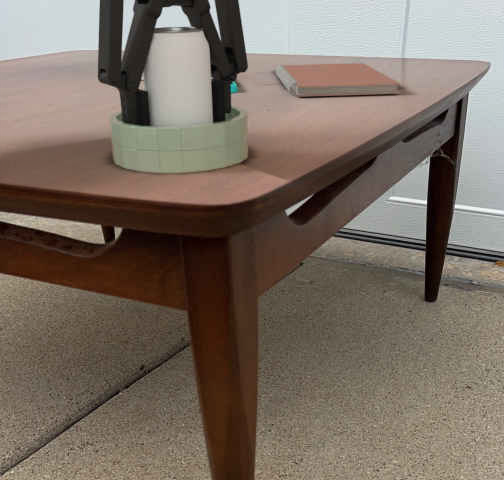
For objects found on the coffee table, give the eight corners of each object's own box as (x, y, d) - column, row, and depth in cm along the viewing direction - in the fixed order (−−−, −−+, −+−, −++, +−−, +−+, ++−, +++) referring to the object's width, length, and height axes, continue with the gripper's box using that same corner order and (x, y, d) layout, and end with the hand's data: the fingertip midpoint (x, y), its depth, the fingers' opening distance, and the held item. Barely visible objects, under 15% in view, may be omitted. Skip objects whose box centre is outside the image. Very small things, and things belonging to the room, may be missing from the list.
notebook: (274, 75, 130) (274, 64, 129) (362, 72, 131) (362, 61, 130) (290, 98, 105) (290, 84, 104) (399, 95, 106) (400, 81, 105)
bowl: (151, 190, 61) (147, 134, 59) (93, 161, 71) (88, 112, 69) (274, 167, 68) (273, 115, 66) (205, 143, 78) (203, 98, 76)
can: (192, 146, 73) (185, 25, 68) (226, 157, 69) (222, 28, 64) (138, 155, 70) (126, 29, 65) (170, 168, 65) (161, 32, 60)
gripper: (65, -122, 52) (100, 177, 61) (285, -110, 62) (285, 144, 71) (33, -111, 57) (69, 161, 67) (240, -102, 67) (245, 133, 77)
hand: (181, 152), depth 69 cm, fingers open, 8 cm apart
